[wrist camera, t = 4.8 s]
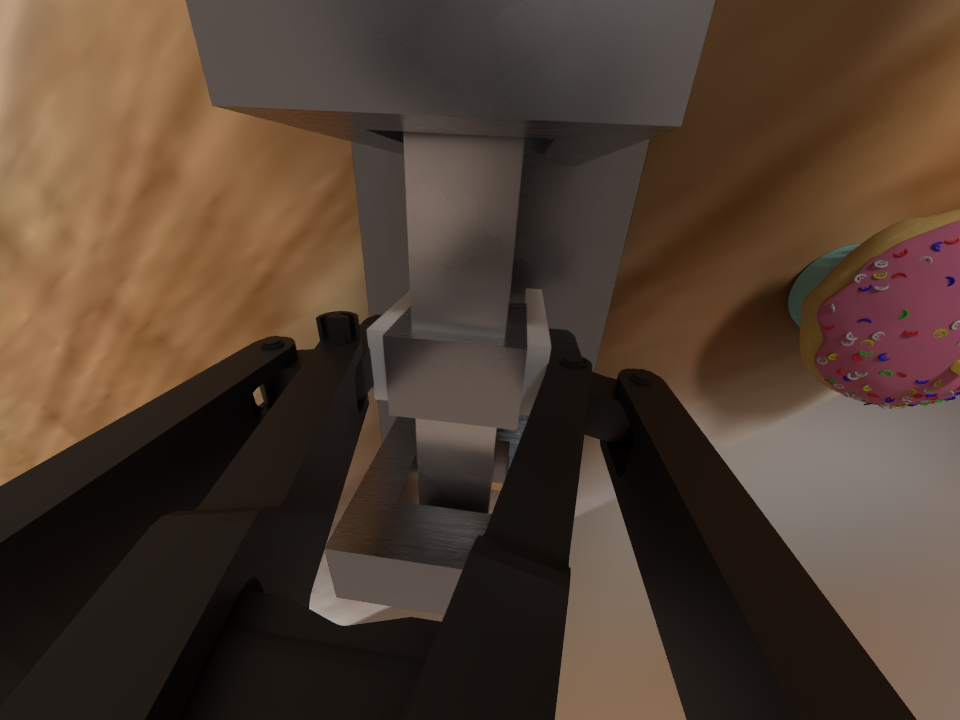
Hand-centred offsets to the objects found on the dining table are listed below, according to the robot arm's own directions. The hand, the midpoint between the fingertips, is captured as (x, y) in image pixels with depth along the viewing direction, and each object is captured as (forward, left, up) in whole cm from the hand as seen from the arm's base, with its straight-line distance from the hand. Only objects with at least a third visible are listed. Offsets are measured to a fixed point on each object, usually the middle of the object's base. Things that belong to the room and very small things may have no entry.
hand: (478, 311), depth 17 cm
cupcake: (-2, +19, -4) cm, 20 cm away
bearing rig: (+2, 0, -4) cm, 5 cm away
